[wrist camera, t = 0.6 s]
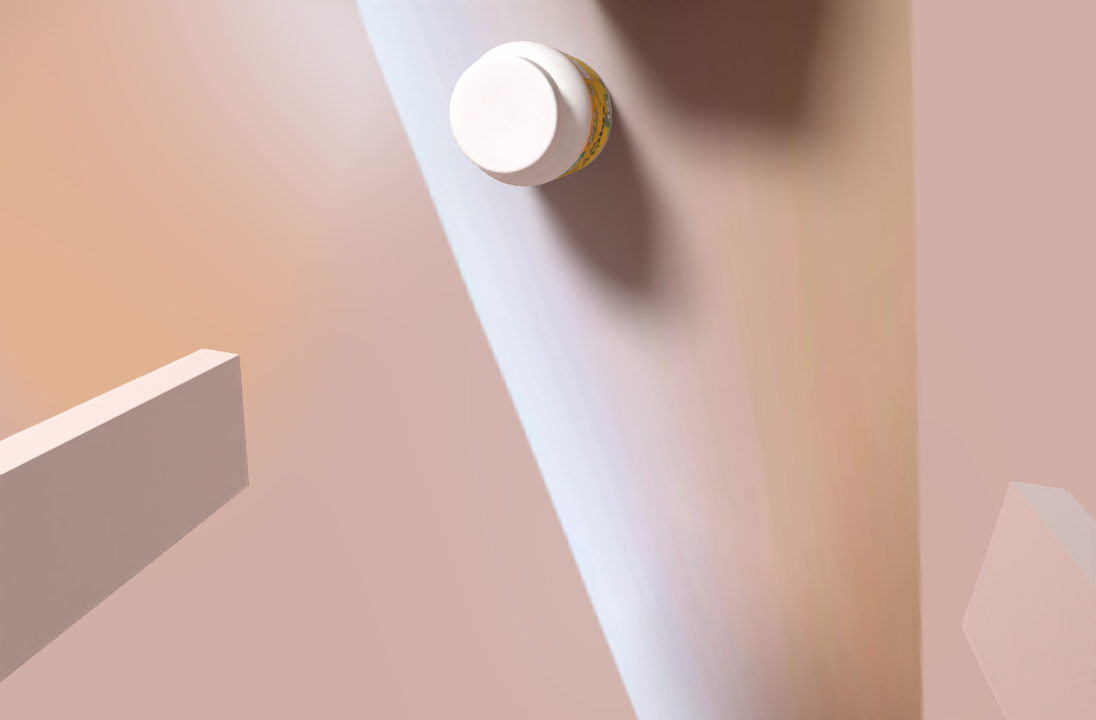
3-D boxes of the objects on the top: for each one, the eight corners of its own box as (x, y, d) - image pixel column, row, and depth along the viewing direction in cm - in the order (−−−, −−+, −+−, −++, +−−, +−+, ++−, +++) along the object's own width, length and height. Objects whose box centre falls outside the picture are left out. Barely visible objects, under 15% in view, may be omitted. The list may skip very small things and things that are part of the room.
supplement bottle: (542, 32, 33) (479, -4, 24) (637, 99, 33) (609, 89, 24) (483, 134, 35) (404, 136, 26) (572, 198, 35) (524, 222, 26)
